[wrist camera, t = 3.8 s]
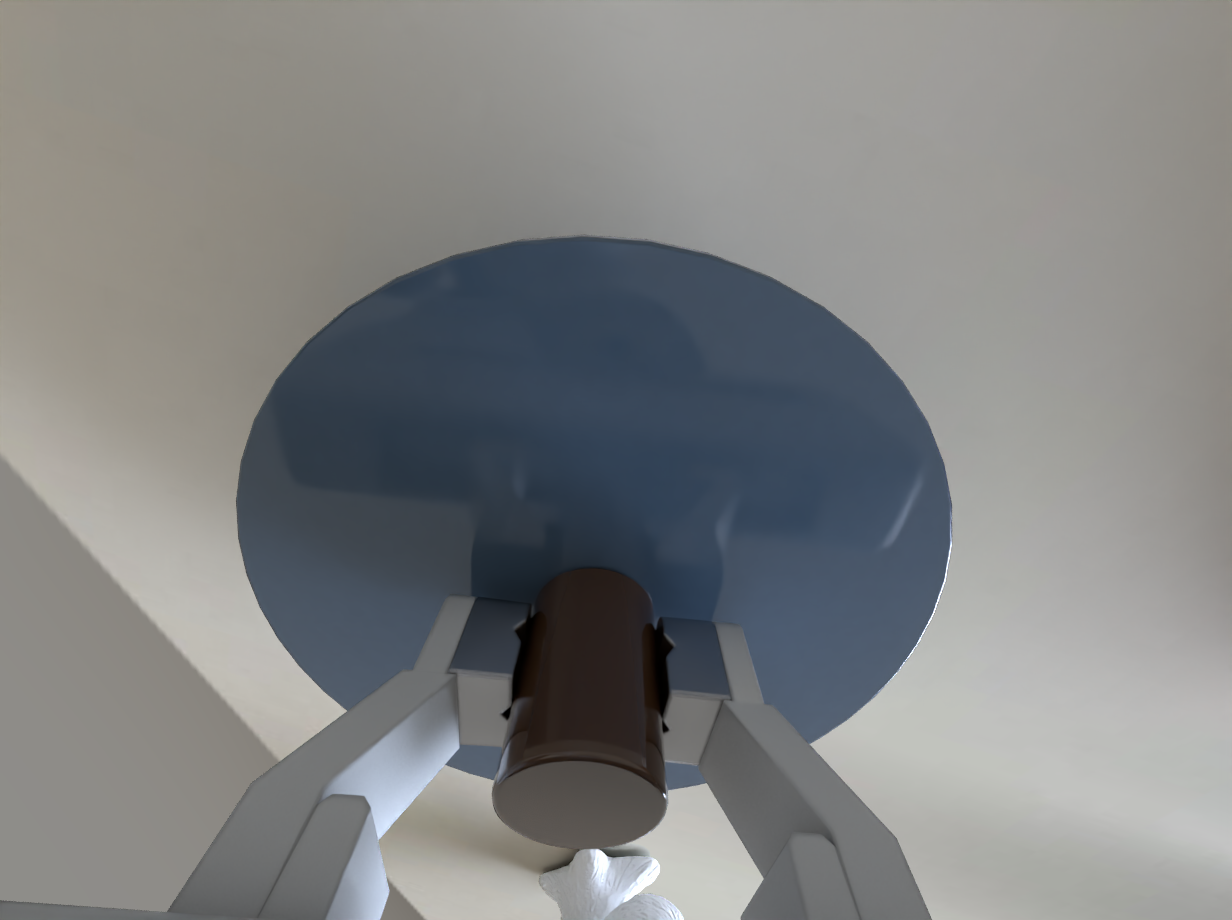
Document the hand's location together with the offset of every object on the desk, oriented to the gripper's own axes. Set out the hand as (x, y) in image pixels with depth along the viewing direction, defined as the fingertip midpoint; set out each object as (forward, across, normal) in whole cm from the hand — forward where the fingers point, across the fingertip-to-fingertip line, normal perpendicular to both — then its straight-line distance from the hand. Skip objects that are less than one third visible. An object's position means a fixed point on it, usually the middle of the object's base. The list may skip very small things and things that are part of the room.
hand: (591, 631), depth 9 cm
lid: (+1, 0, 0) cm, 1 cm away
